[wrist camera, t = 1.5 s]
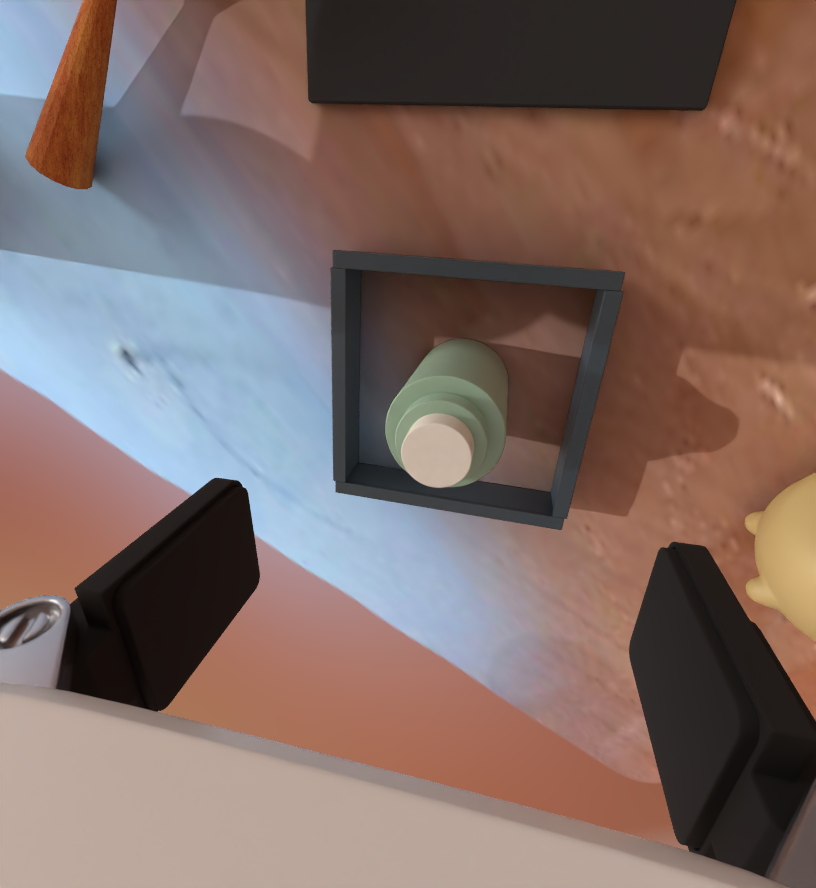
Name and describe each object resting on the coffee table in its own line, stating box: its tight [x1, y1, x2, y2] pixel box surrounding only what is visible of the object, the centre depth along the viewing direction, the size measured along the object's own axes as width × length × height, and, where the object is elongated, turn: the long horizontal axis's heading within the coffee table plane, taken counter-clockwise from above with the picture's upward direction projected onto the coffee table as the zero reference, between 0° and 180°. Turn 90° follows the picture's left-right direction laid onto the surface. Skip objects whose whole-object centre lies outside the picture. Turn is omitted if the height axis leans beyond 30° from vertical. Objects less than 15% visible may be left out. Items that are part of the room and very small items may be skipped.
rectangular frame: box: [331, 250, 625, 530], centre depth 29 cm, size 16×16×3 cm
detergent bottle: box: [385, 339, 508, 488], centre depth 25 cm, size 6×6×11 cm
